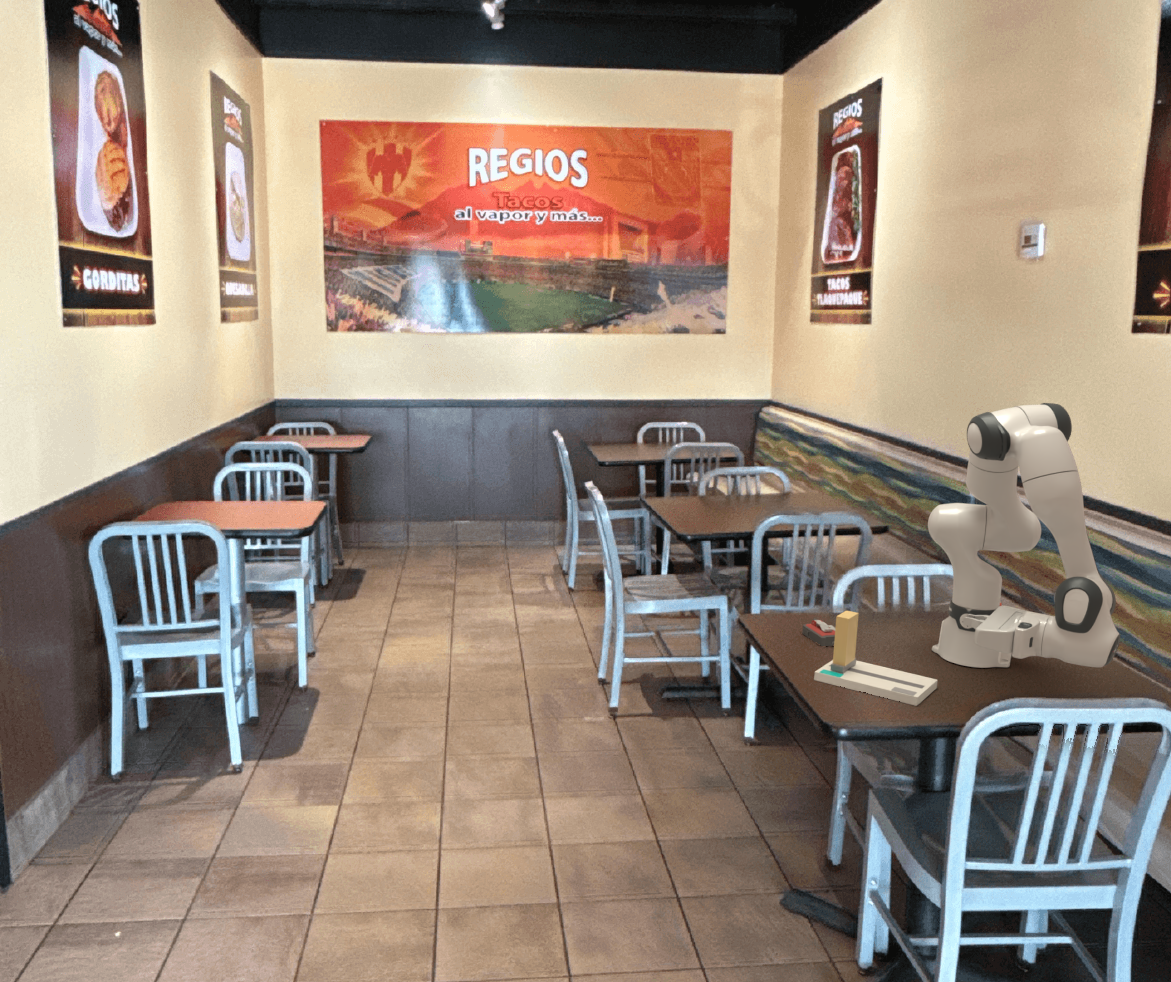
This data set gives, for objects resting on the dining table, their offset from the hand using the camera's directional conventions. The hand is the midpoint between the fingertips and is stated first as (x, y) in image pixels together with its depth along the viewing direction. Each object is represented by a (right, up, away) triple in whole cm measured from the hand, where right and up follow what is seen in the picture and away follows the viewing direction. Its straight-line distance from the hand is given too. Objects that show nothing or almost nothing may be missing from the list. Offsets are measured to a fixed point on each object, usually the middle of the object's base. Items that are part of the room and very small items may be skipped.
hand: (965, 619), depth 227 cm
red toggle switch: (-21, -11, +48) cm, 53 cm away
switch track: (-16, -17, +14) cm, 27 cm away
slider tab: (-22, -13, +18) cm, 31 cm away
